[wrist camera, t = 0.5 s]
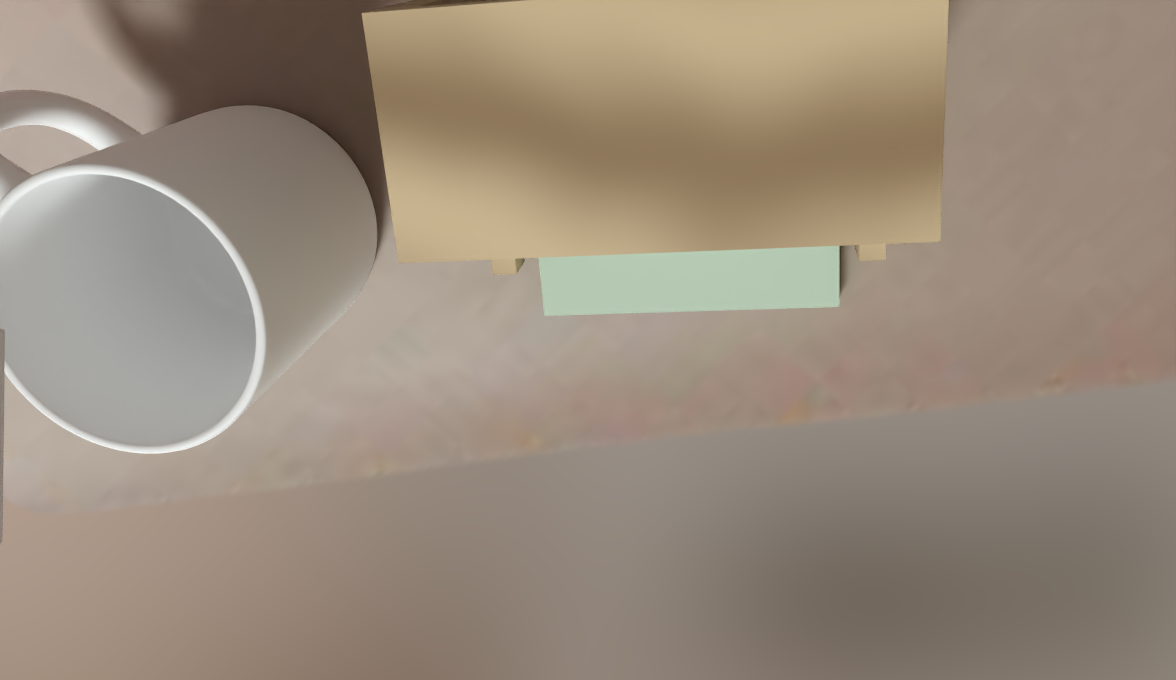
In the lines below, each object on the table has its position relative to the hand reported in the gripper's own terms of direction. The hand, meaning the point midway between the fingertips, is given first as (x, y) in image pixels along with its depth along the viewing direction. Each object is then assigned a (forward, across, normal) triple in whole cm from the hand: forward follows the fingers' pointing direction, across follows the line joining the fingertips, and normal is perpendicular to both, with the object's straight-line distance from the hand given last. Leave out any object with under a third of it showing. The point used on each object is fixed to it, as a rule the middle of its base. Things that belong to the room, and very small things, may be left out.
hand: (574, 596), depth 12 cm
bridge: (+26, -1, +2) cm, 26 cm away
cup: (+26, -15, -6) cm, 31 cm away
